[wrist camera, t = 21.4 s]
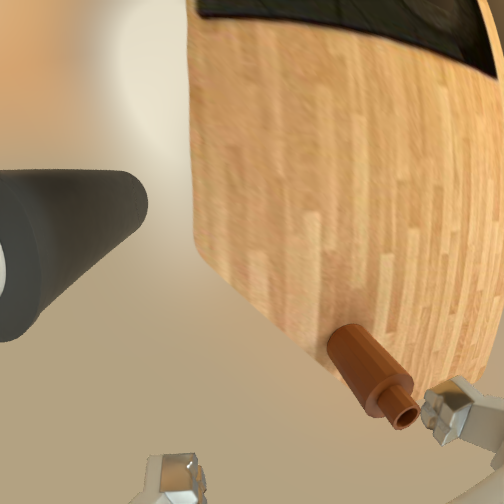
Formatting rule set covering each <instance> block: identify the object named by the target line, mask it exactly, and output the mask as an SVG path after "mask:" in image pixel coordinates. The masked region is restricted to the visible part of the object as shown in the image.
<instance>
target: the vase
mask: <svg viewBox="0 0 504 504" xmlns="http://www.w3.org/2000/svg"><path fill="white" fill-rule="evenodd" d="M327 352H328V355H329V357H330V358H331V360H332V362H333V363H334V365H335V366H336V368H337V369H338V371H339V372H340V374H341V375H342V377H343V378H344V380H345V381H346V383H347V384H348V386H349V387H350V389H351V390H352V392H353V394H354V395H355V396H356V398H357V399H358V401H359V403H360V404H361V406H362V407H363V409H364V410H365V412H366V413H367V415H368V416H371V417H373V418H382V417H385V416H386V418H387V419H388V420H389V422H390V423H391V425H392V426H393V427H394V429H395V430H402V429H404V428H407V427H409V426H410V425H411V424H412V423H413V422H415V421H416V419H417V418H418V416H419V414H420V411H421V409H420V407H419V405H418V404H417V403H416V402H415V401H414V400H413V399H412V397H411V396H410V395H411V394H412V392H413V387H414V382H413V379H412V377H411V376H410V375H409V374H408V373H407V372H406V370H405V369H404V368H403V367H402V366H401V365H400V364H399V363H398V362H397V361H396V360H395V359H394V358H393V357H392V356H391V355H390V354H389V353H388V352H387V351H386V350H385V349H384V348H383V347H382V346H381V345H380V344H379V343H378V342H377V341H376V340H375V339H374V338H373V337H372V335H371V334H370V333H369V332H368V331H367V330H365V329H364V328H363V327H362V326H360V325H357V324H348V325H345V326H343V327H341V328H339V329H338V330H337V331H335V332H334V333H333V335H332V336H331V338H330V339H329V341H328V345H327Z"/></svg>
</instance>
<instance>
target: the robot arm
mask: <svg viewBox="0 0 504 504" xmlns="http://www.w3.org/2000/svg"><path fill="white" fill-rule="evenodd" d="M5 280H6V265H5V258H4V253H3V250H2V246H1V244H0V296H1V294H2V292H3V289H4V286H5ZM424 399H425V400H426V402H425V403H424V405H423V406H422V408H421V412H420V414H421V419H422V422H423V424H424V425H425V427H426V428H427V429H430V430H433V437H434V438H435V439H436V440H437V441H438V443H439V444H440V445H441V446H444V445H446V444H447V443H449V442H451V441H453V440H455V439H456V438H460V439H462V440H464V441H467V442H469V443H472V444H474V445H477V446H479V447H482V448H484V449H487V450H489V451H492V452H494V453H496V454H495V456H494V458H493V460H492V461H491V467H493V469H494V470H495V472H493V473H492V474H490V475H489V476H488V477H486V478H485V479H483V480H482V481H481V482H479V483H478V484H476V485H475V486H473V487H472V488H470V489H469V490H467V491H466V492H464V493H463V494H461V495H460V496H458V497H456V498H455V499H453V500H451V501H450V502H448V503H446V504H504V398H499V397H495V396H490V395H486V396H484V395H482V394H481V393H480V392H479V391H478V390H477V389H476V388H475V387H474V386H472V385H471V384H470V383H469V382H468V381H467V380H466V379H465V378H463V377H462V376H460V375H457V376H455V377H453V378H451V379H449V380H448V381H445V382H443V383H441V384H439V385H437V386H435V387H432V388H430V389H428V390H427V391H426V392H425V395H424ZM205 491H206V480H205V475H204V472H203V469H202V467H201V466H200V465H198V459H197V457H196V455H195V453H184V454H164V455H150V456H149V457H148V459H147V466H146V473H145V481H144V489H143V493H138V494H137V495H136V496H135V497H134V498H133V499H132V500H131V501H130V502H129V504H207V499H206V497H205V496H204V493H205Z"/></svg>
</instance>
